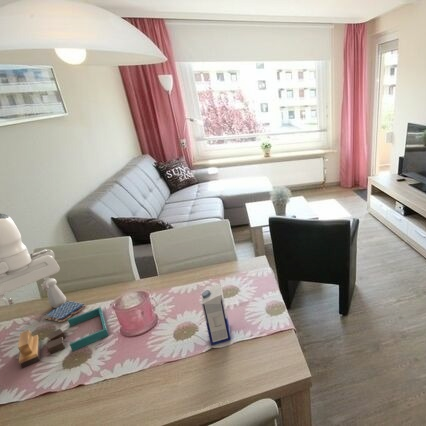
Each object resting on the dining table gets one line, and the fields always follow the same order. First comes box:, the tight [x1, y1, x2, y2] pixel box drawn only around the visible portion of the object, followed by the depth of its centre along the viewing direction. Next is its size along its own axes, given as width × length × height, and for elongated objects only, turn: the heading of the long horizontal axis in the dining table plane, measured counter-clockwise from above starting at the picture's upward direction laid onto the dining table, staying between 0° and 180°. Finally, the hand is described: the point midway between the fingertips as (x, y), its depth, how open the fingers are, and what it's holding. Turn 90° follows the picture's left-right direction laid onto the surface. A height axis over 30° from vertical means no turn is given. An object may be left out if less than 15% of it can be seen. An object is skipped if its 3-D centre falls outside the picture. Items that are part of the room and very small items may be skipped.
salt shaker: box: [46, 277, 67, 309], centre depth 127 cm, size 6×6×13 cm
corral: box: [67, 306, 109, 352], centre depth 113 cm, size 11×18×3 cm, turn 41°
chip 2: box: [47, 337, 66, 355], centre depth 105 cm, size 4×4×2 cm
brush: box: [17, 329, 42, 369], centre depth 102 cm, size 4×12×7 cm, turn 41°
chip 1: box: [46, 328, 66, 342], centre depth 109 cm, size 4×4×2 cm
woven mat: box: [43, 300, 86, 323], centre depth 123 cm, size 10×11×2 cm
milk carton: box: [201, 283, 232, 346], centre depth 104 cm, size 7×7×20 cm
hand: (28, 296), depth 100 cm, fingers open, 8 cm apart
